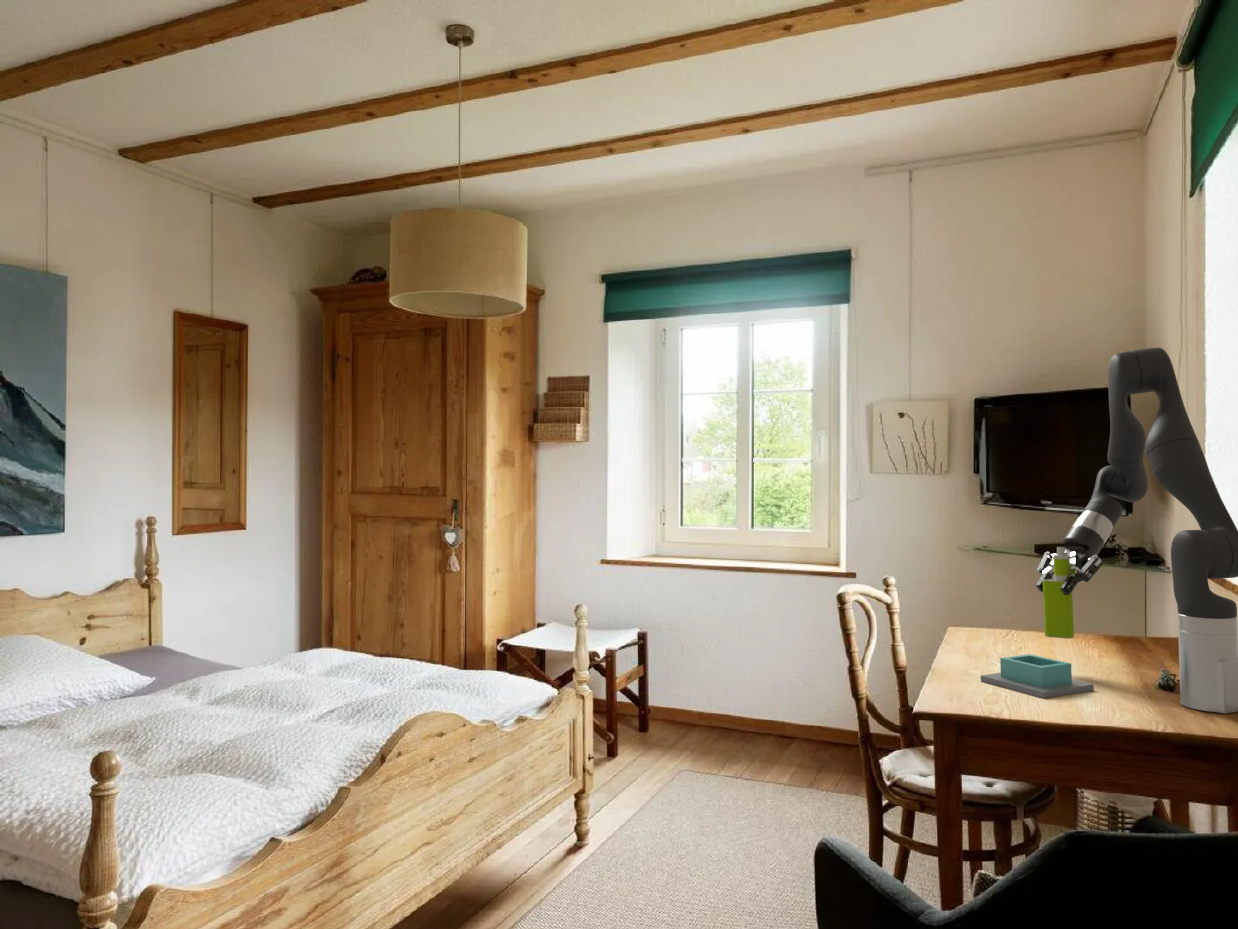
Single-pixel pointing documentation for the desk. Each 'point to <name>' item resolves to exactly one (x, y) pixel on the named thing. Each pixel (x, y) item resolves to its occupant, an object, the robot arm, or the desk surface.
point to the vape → (1058, 600)
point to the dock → (1036, 676)
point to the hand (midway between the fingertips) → (1052, 590)
